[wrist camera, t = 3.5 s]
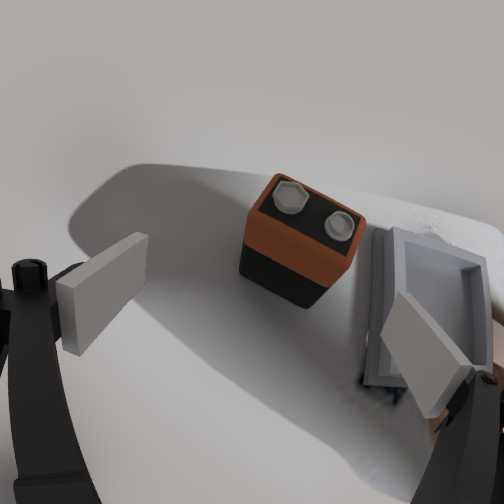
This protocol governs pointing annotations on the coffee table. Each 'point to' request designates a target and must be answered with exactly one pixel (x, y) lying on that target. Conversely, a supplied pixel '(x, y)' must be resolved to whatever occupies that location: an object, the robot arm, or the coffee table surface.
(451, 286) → the charging dock
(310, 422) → the coffee table surface
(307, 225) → the battery
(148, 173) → the coffee table surface
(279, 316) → the coffee table surface
